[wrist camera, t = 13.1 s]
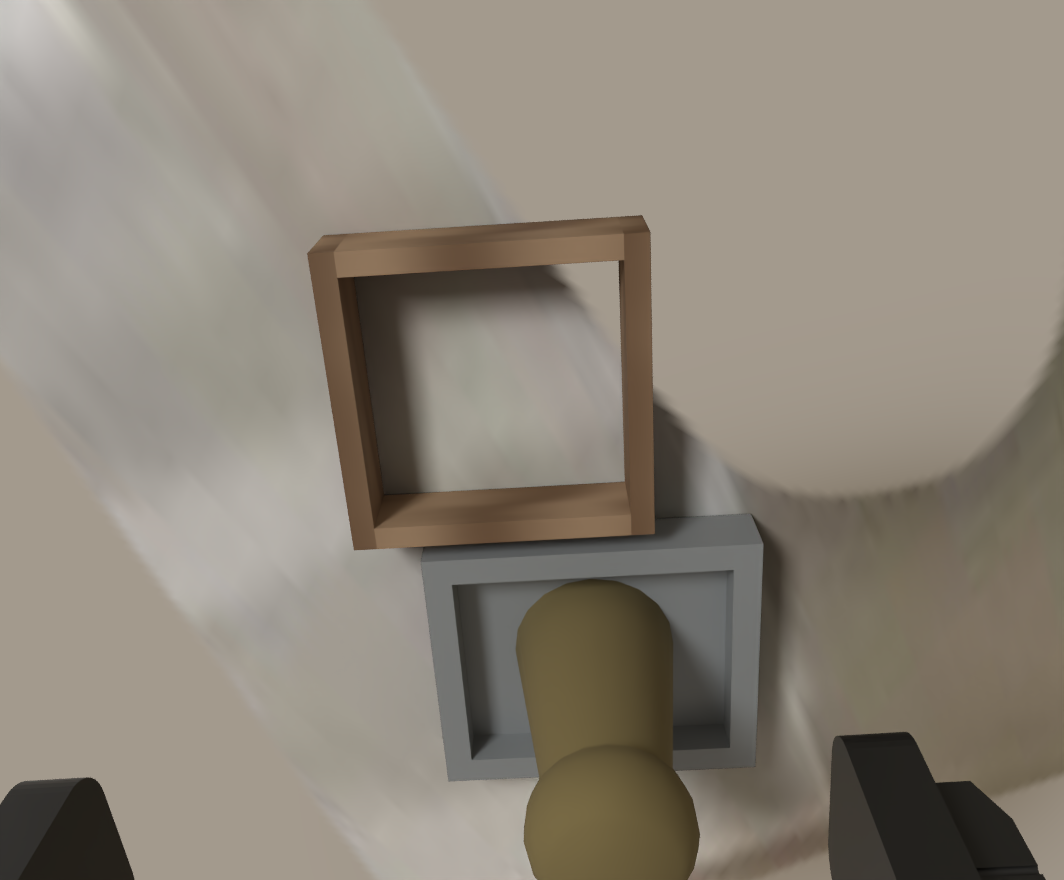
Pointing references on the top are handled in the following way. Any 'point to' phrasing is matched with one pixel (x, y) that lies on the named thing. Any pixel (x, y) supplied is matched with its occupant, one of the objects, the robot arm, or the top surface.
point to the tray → (636, 560)
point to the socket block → (494, 509)
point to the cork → (603, 738)
